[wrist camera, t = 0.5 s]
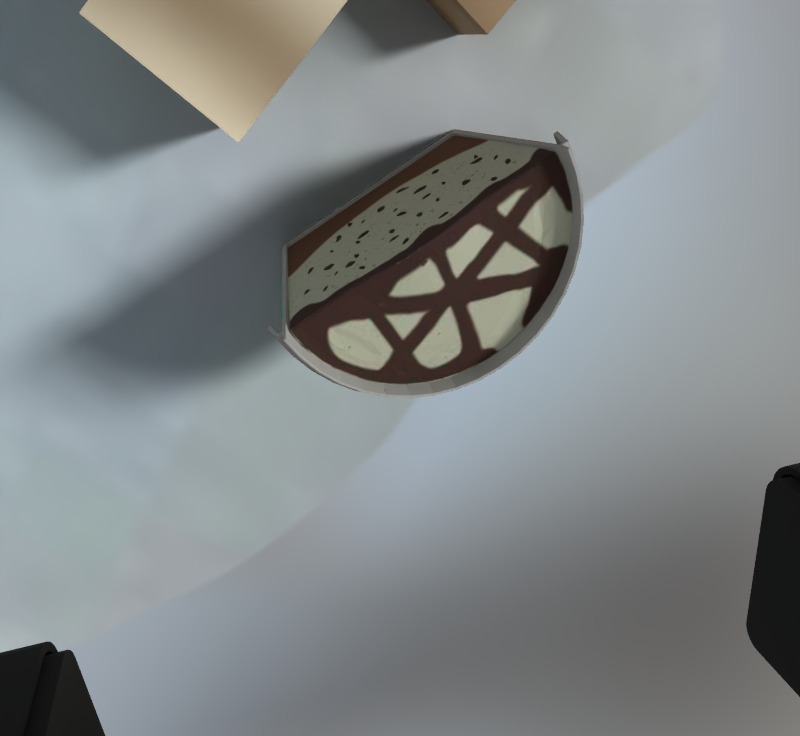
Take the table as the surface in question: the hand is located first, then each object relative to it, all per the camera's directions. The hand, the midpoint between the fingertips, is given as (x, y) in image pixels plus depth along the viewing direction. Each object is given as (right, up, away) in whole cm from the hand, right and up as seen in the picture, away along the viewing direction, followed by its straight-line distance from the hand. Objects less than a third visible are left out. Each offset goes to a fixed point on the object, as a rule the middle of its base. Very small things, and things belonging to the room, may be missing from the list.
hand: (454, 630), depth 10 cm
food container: (-1, +9, +25) cm, 26 cm away
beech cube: (-8, +18, +19) cm, 27 cm away
